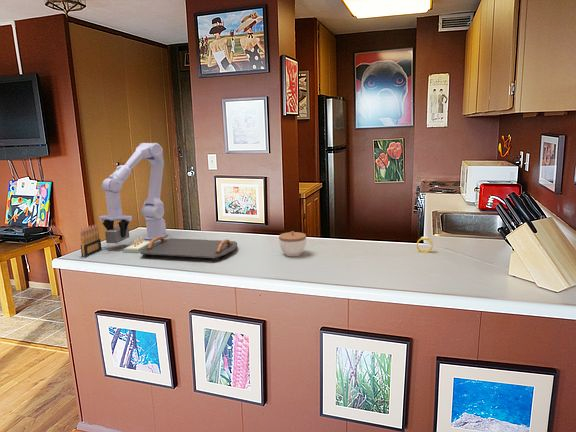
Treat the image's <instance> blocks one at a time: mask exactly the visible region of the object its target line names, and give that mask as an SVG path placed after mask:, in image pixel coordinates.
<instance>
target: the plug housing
mask: <svg viewBox="0 0 576 432" xmlns="http://www.w3.org/2000/svg"><path fill="white" fill-rule="evenodd" d="M104 235H105V242H106V244H119V243H121V242H123V241H125V240H126V239H129V238H130V229H129V225H128V226H127V230H126V236H125V237H123V238H122V237H121V231H120V227H119V225H117V226H114V228H113V229H110V230H108V231H107V230H106V231H105V232H104Z"/></svg>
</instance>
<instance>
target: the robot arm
mask: <svg viewBox="0 0 576 432" xmlns="http://www.w3.org/2000/svg"><path fill="white" fill-rule="evenodd" d="M163 152H164V149H163V147H162V146H161V145H160V144H159V143H158V142H141V143H139V145H138V146H136V147H135V151H134V152H133V153H132V155H131V156H130V157H129V158H128V160H127V161H126V163H124V165H123V164H121V165H118V166H117V167H116V169H115V170H114V172H112V174H110V175H109V177H108V178H105V179H103V181H102V183H101V184H102V185H100V186H101V189H102V190H103V192H104V195H105V201H106V208H107V215H100V216H98V219H99V222H102V221H103V222H102V225H103V226H104V228H105V230H106V231H108V230H110V229H113V228H115V226H114V225H115V224H114V223H115V221H118V222H117V224H118V226H119V227H120V231H121V237H122V238H123V237H125V236H126V230H127V226H128V227H129V224H130V222H131V221H133V216H132V215H127V214H126V215H125V214H124V215H123V209H122V201H121V194H120V193H121V190H122V189H123V184H124V182H126V181H127V180H128V178H129V177H130V176H131V175H132V174H131V173H132V171H131V170H133V169H134V168H135V167H136V166H137V164H139V163H140V162H141V161H142V160H143V159H145V160H147V161H148V162H149V164H150V175H149V183H148V193H147V198H146V199H145V200H144V202H143V206H142V207H141V211H140V212H141V215H142V216H143V217H144V220H145V226H146V235H147V236H145V237H143V240H152V239H154V238H156V237H159V236H161V237H163V238H165V237H167V236H168V235H169V233H167V225H166V220H165V219H164V218H163V217H164V216H165V207H164V206H165V205H164V202H163V201H162V200H161V193H162V183H163V174H164V173H163V172H164V165H165V160H164V155H163V154H164V153H163Z"/></svg>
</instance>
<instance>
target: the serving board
mask: <svg viewBox="0 0 576 432" xmlns="http://www.w3.org/2000/svg"><path fill="white" fill-rule="evenodd" d="M149 241H150V243H149V245H148V246H146V247H145V248H144V249H143V250H142V251H141V252H139V253H140V255H142V257H143V258H144V259H145V258H146V259H147V258H148V257H149V255H150V256H151V255H153V256H169V257H170V256H171V257H185V258H188V257H189V258H200V259H201V258H202V259H203V258H204V259H205V258H206V259H211V260H212V262H213V263H216V262H218V261H219V258H220V257H221V258H222V257H223V256H226V255H227V254H230V253H231V252H233V251H235V250H236V248H237V247H238V242H237V241H236V240H230V239H223V240H218V239H211V240H210V239H194V238H175V237H174V238H172V237H171V238H165V237H161V236H159V237H156V238H154V239H150V240H149Z"/></svg>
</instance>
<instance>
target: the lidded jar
mask: <svg viewBox="0 0 576 432" xmlns="http://www.w3.org/2000/svg"><path fill="white" fill-rule="evenodd" d="M278 240H279V245H280V246H279V247H280V249H281V251H282V253H284V254H285V256H287V257H298V256H301V255H302V253H303V252H304V250H305V248H306V244H307V235H306V233H304V232H297V231H296V232H295V231H294V230H292V231H291V230H290V231H289V232H283V233H281V234H279V236H278Z"/></svg>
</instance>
